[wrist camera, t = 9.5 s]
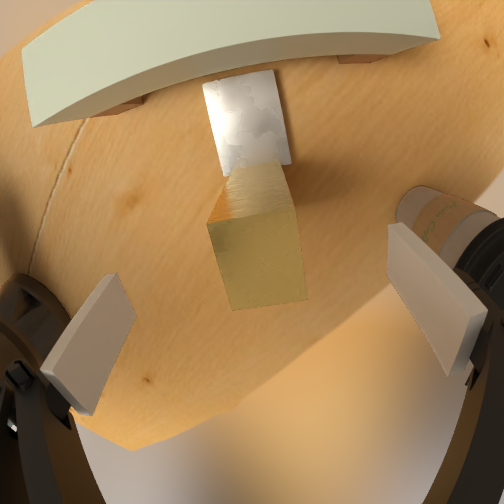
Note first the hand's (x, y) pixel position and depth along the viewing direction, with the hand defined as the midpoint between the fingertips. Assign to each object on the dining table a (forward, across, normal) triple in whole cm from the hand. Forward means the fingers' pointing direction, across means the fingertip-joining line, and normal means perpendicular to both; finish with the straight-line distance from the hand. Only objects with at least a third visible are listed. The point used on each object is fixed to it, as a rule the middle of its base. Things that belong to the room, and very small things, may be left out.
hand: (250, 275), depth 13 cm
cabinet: (+15, +1, +14) cm, 20 cm away
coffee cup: (+15, +17, -5) cm, 23 cm away
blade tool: (+15, +1, +4) cm, 15 cm away
